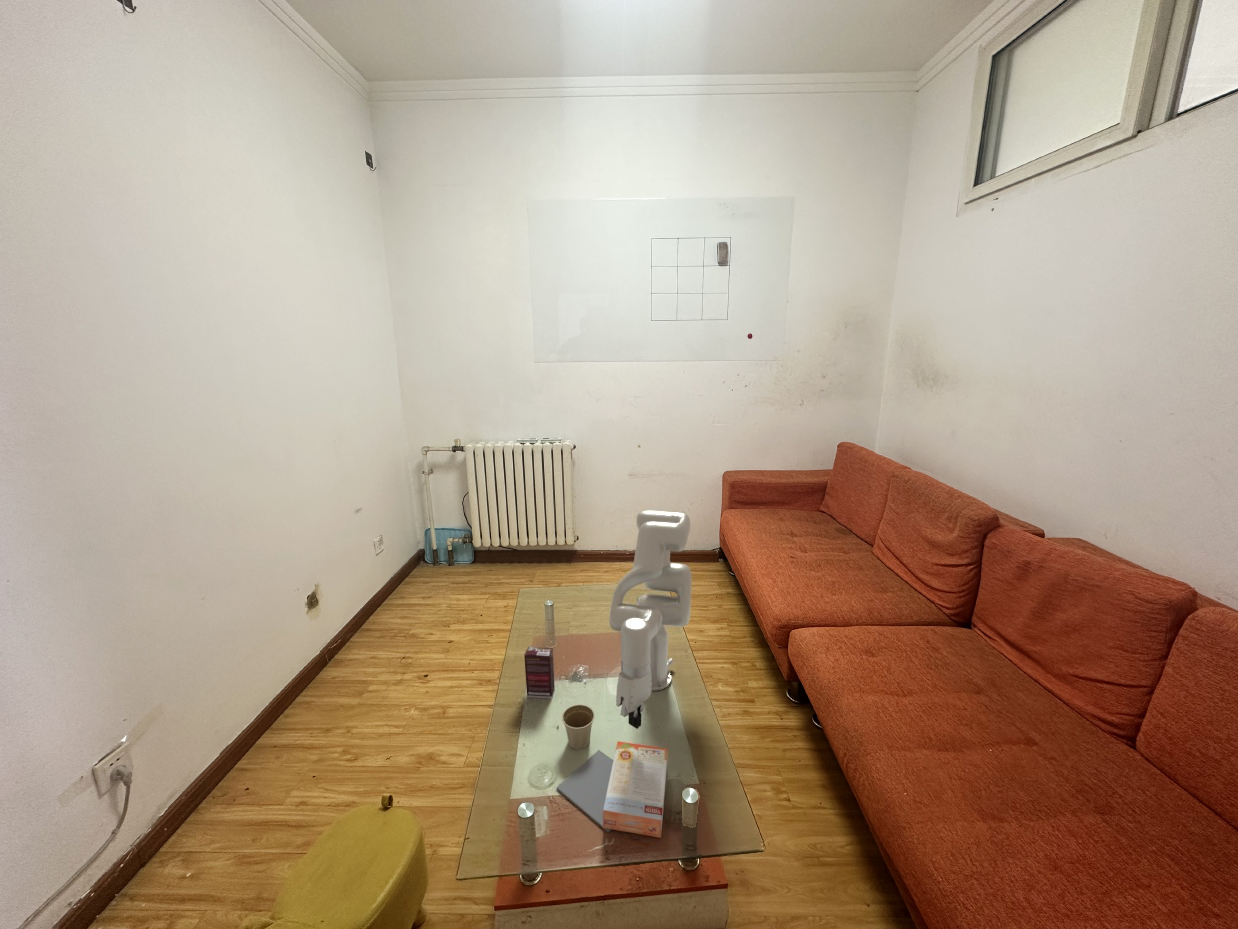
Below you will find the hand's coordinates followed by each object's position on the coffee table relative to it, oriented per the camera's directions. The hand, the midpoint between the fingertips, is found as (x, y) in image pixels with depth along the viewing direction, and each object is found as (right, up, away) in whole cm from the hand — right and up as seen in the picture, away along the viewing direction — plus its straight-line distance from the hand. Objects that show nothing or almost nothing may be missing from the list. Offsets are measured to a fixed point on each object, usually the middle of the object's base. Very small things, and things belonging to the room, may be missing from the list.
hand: (634, 724), depth 132 cm
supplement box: (-30, -6, +30) cm, 43 cm away
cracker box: (+2, -8, +2) cm, 9 cm away
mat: (-8, -14, -5) cm, 17 cm away
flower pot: (-16, -10, +10) cm, 22 cm away
